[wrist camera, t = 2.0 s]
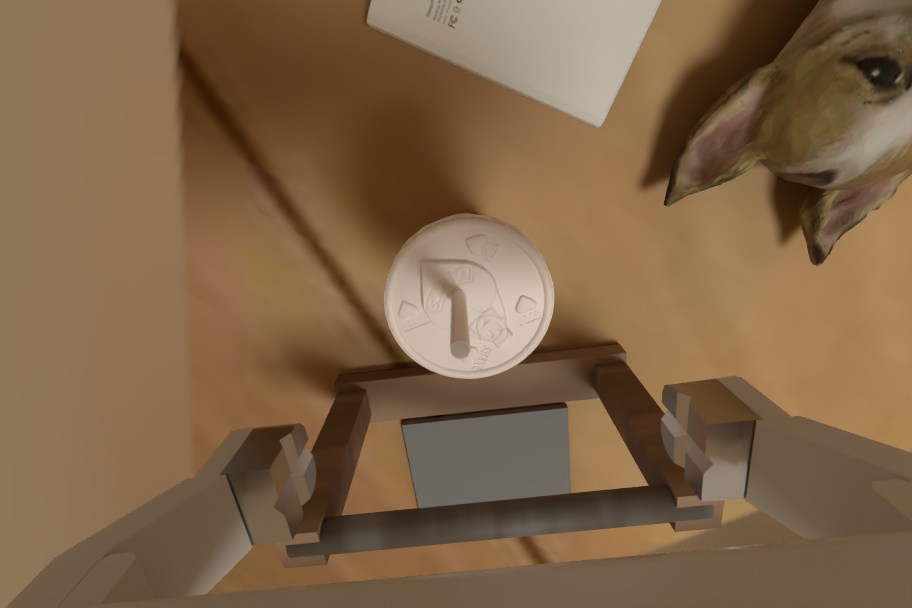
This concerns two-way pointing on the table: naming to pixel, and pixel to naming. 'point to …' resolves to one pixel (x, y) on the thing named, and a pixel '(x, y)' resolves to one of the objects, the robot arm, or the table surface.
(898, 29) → the ceramic sculpture
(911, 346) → the table surface
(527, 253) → the smoothie
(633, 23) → the external hard drive
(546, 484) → the mat
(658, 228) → the table surface
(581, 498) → the bar hurdle
